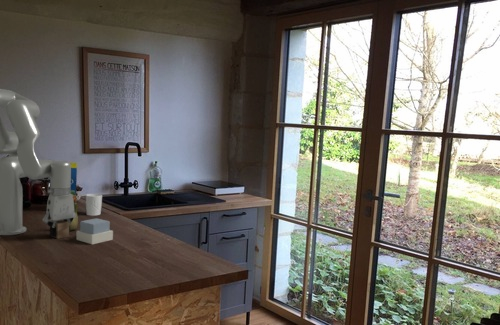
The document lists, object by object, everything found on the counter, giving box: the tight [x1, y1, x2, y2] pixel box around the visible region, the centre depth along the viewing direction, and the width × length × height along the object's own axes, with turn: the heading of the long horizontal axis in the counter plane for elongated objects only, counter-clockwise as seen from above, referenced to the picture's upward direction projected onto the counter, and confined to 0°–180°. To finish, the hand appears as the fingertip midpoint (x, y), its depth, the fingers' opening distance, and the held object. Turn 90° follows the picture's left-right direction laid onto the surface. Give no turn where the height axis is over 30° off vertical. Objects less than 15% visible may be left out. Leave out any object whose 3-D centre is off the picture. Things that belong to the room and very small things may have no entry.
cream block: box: [76, 229, 114, 245], centre depth 177 cm, size 10×10×4 cm
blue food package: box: [69, 162, 78, 203], centre depth 226 cm, size 6×12×25 cm, turn 111°
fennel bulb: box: [63, 202, 79, 232], centre depth 189 cm, size 6×5×12 cm
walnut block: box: [50, 220, 70, 240], centre depth 178 cm, size 5×5×6 cm
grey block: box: [79, 217, 111, 235], centre depth 176 cm, size 8×8×4 cm
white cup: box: [85, 193, 103, 217], centre depth 221 cm, size 8×8×10 cm
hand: (59, 234), depth 178 cm, fingers closed on walnut block, 5 cm apart
